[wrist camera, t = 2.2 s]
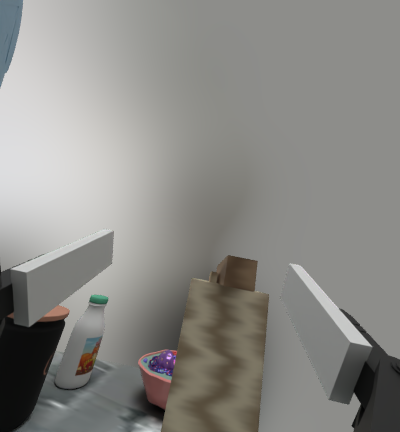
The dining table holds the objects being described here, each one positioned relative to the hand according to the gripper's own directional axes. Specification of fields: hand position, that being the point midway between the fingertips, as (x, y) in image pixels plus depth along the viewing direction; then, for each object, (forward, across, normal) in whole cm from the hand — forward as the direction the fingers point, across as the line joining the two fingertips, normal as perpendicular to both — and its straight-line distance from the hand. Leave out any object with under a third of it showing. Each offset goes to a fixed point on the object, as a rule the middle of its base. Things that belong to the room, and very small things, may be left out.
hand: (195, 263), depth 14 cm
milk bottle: (+22, -28, -48) cm, 60 cm away
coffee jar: (+9, -32, -41) cm, 52 cm away
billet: (+16, +5, -10) cm, 19 cm away
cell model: (+23, -3, -50) cm, 55 cm away
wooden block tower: (+3, +4, -38) cm, 38 cm away
